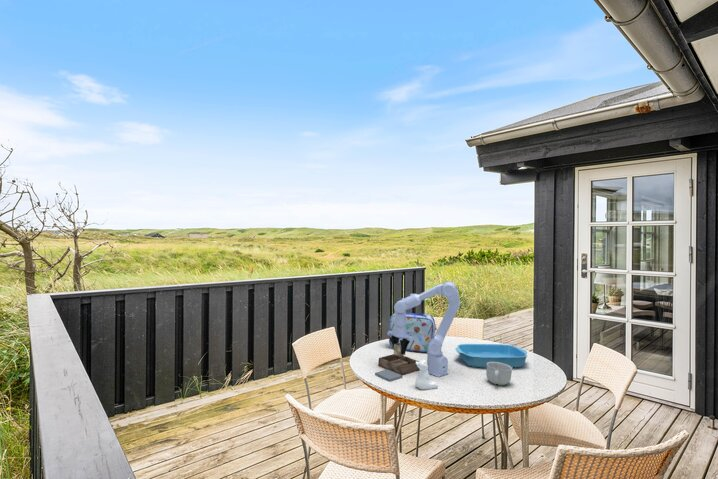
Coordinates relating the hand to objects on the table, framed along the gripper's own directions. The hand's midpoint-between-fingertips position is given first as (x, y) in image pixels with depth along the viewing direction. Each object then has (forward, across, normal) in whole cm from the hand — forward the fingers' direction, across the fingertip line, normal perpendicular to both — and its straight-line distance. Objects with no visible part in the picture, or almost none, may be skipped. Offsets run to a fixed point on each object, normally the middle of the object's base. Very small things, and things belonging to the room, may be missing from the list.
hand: (399, 352), depth 183 cm
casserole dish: (+8, -26, -44) cm, 52 cm away
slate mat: (+8, -4, +12) cm, 15 cm away
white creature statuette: (+8, -22, +10) cm, 26 cm away
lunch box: (+8, +14, -30) cm, 34 cm away
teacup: (+8, -42, -18) cm, 46 cm away
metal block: (+1, 0, 0) cm, 1 cm away
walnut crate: (+8, 0, 0) cm, 8 cm away
